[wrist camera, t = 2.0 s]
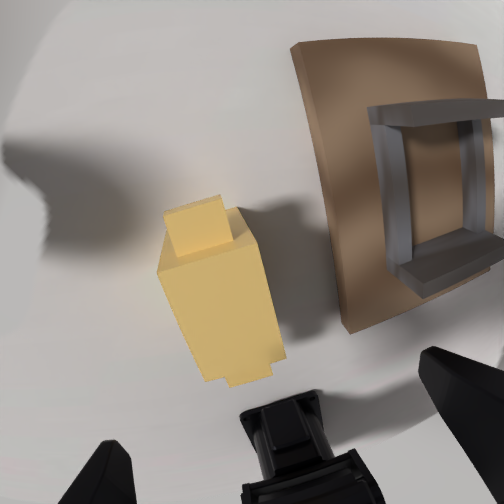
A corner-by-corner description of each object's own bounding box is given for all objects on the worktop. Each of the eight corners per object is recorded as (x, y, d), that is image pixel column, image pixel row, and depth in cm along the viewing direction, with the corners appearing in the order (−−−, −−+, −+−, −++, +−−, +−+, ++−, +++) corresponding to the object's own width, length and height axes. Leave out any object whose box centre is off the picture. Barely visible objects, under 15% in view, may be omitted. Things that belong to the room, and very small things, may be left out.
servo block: (267, 320, 21) (292, 382, 15) (208, 337, 21) (217, 405, 15) (228, 175, 17) (245, 197, 12) (157, 197, 17) (140, 229, 11)
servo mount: (478, 263, 23) (521, 290, 18) (341, 322, 22) (377, 371, 17) (462, 46, 16) (517, 40, 11) (289, 49, 15) (329, 19, 10)
